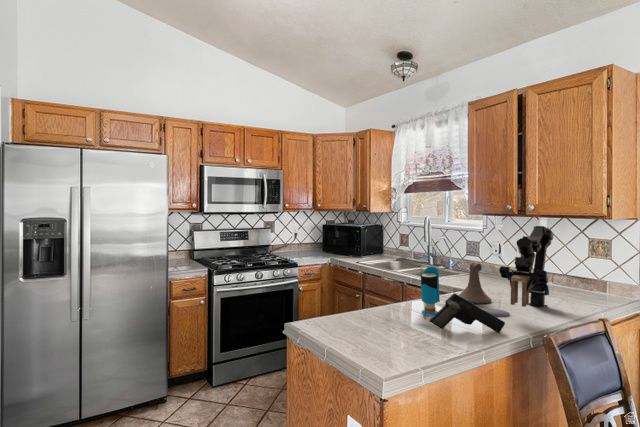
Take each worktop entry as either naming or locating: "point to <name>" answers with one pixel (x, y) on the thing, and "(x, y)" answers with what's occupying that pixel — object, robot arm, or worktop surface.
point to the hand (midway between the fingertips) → (519, 289)
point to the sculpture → (474, 287)
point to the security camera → (430, 289)
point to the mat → (498, 312)
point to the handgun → (465, 314)
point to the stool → (515, 290)
